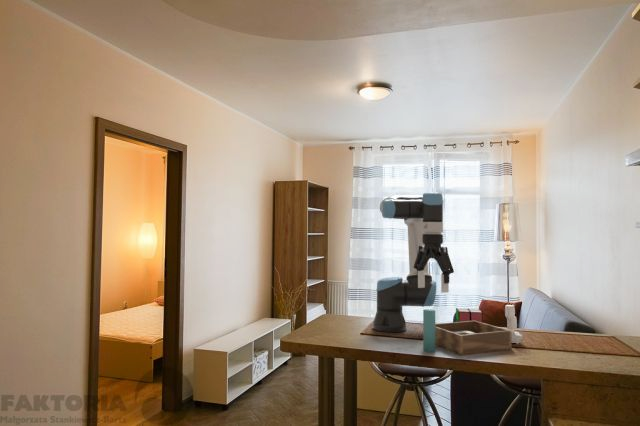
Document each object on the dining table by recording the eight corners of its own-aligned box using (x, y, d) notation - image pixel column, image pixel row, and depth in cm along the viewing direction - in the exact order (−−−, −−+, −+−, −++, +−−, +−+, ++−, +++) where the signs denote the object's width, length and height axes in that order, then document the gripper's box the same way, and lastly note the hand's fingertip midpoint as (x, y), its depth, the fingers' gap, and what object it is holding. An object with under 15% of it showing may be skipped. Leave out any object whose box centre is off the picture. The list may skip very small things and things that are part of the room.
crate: (427, 342, 172) (427, 324, 173) (474, 337, 181) (474, 320, 182) (460, 355, 154) (460, 335, 154) (511, 349, 163) (511, 330, 163)
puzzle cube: (482, 335, 184) (482, 312, 185) (458, 334, 186) (458, 311, 187) (478, 330, 194) (478, 308, 194) (455, 329, 196) (455, 307, 196)
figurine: (504, 344, 169) (504, 306, 170) (498, 339, 178) (498, 302, 179) (524, 345, 168) (523, 307, 168) (517, 339, 177) (516, 303, 178)
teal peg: (421, 349, 161) (420, 309, 161) (430, 348, 162) (430, 309, 163) (428, 352, 157) (427, 311, 157) (437, 351, 158) (437, 311, 159)
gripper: (404, 233, 171) (404, 286, 170) (447, 233, 148) (447, 295, 148) (420, 233, 174) (420, 285, 173) (463, 233, 152) (464, 294, 151)
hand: (432, 290), depth 161 cm, fingers open, 13 cm apart
